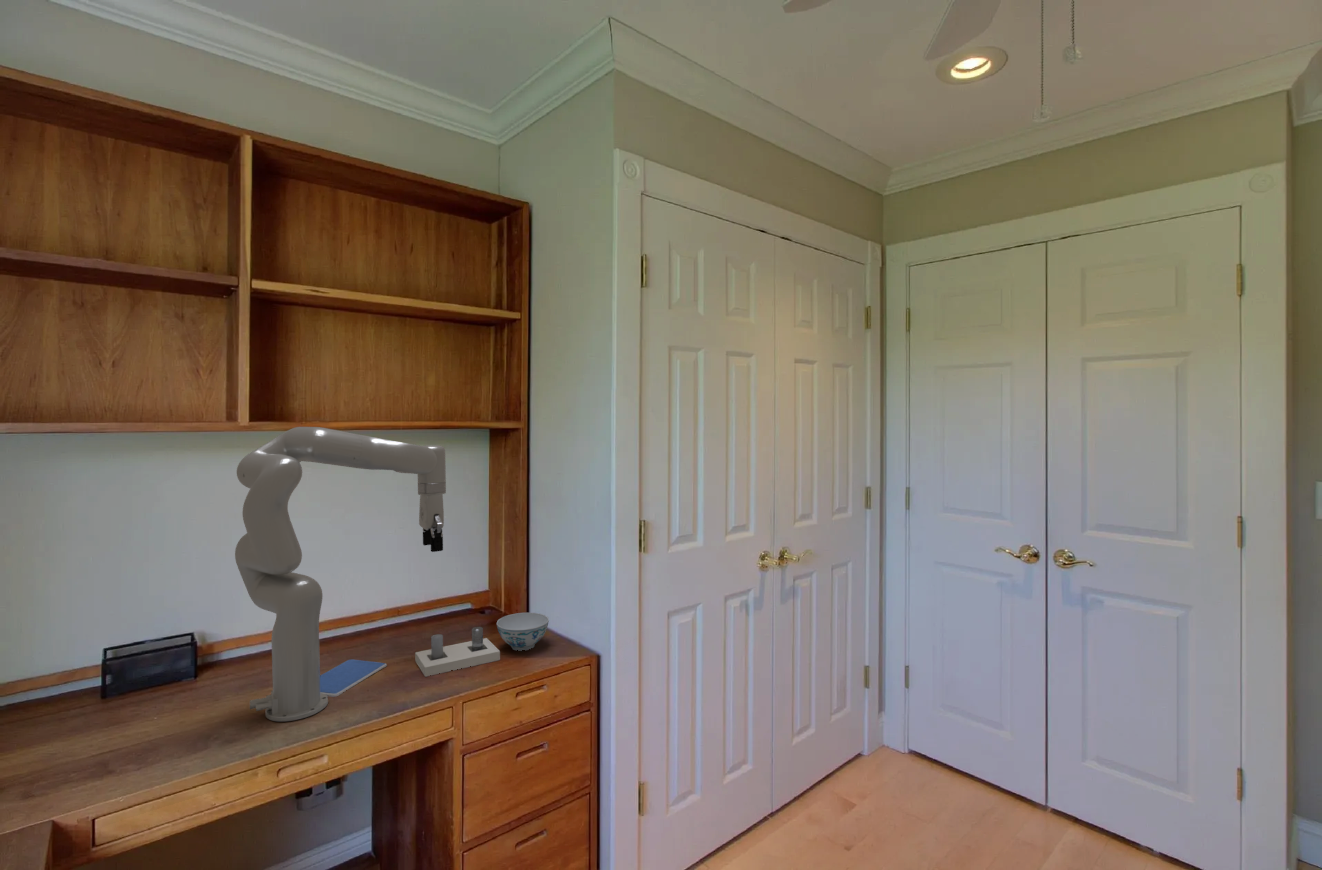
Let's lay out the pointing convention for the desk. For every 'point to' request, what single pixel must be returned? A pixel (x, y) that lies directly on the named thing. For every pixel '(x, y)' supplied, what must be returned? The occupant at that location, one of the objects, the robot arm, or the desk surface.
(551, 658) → the desk surface
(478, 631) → the steel pin
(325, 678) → the tablet computer
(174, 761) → the desk surface
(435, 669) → the pin board
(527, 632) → the chinaware
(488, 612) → the desk surface
